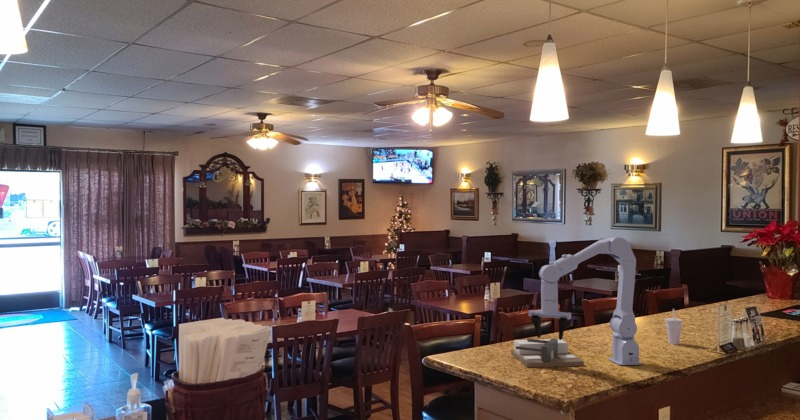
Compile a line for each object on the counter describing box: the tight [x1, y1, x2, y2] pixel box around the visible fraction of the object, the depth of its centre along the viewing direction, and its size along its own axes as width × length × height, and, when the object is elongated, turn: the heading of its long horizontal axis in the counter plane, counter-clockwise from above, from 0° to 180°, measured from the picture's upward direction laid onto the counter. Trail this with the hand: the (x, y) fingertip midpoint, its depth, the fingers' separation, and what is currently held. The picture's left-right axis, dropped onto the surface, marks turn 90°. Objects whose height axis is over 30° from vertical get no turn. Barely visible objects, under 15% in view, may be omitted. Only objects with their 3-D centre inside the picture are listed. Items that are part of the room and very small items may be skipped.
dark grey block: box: [516, 338, 559, 362], centre depth 214 cm, size 11×14×5 cm
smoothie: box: [664, 308, 683, 346], centre depth 240 cm, size 6×6×14 cm
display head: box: [510, 338, 585, 368], centre depth 216 cm, size 20×20×5 cm
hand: (549, 338), depth 212 cm, fingers open, 7 cm apart
